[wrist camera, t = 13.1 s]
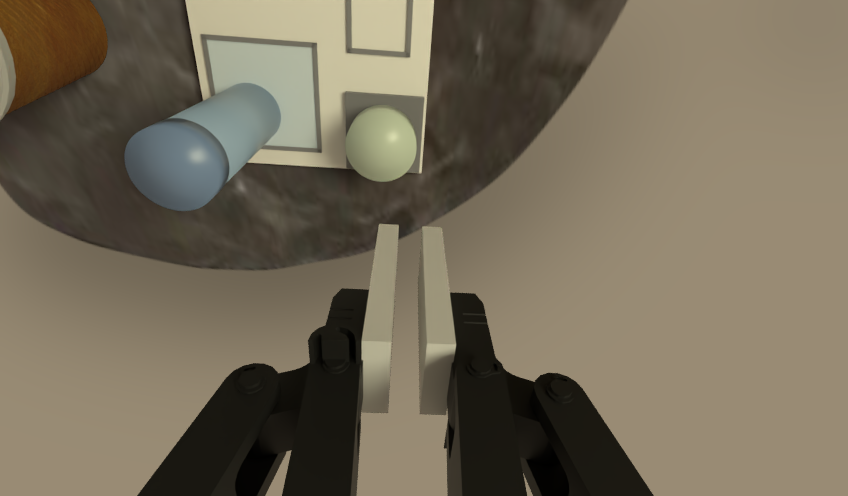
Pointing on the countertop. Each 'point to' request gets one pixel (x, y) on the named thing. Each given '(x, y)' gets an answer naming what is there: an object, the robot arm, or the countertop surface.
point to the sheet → (317, 66)
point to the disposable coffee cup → (46, 47)
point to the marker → (201, 146)
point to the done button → (381, 143)
